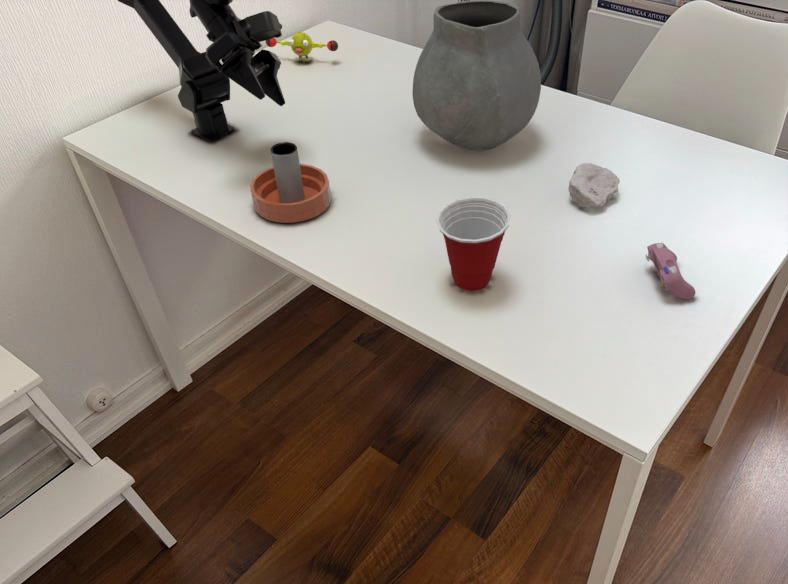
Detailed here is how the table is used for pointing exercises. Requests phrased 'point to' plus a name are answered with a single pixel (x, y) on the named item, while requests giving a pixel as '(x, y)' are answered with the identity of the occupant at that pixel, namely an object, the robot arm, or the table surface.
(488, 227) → the plastic cup
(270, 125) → the table surface
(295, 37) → the toy figure
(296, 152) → the grey hollow cylinder
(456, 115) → the ceramic pot
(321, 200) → the bowl
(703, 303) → the table surface
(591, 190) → the pale grey lumpy chunk
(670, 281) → the video game controller
